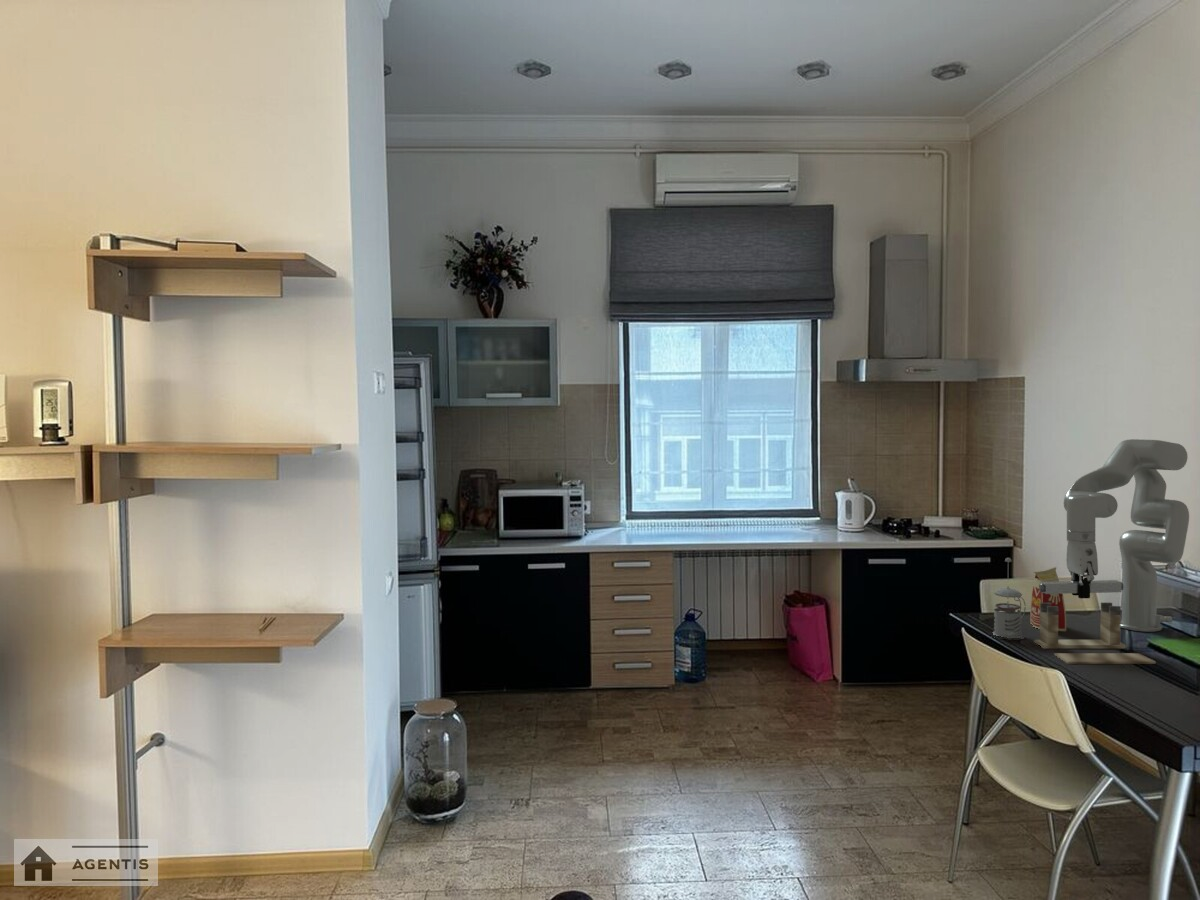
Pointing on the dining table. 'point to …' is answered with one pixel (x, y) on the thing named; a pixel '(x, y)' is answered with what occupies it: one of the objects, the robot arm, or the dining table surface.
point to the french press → (1008, 613)
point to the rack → (1107, 640)
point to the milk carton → (1046, 599)
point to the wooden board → (1104, 658)
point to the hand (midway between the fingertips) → (1080, 596)
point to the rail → (1072, 586)
